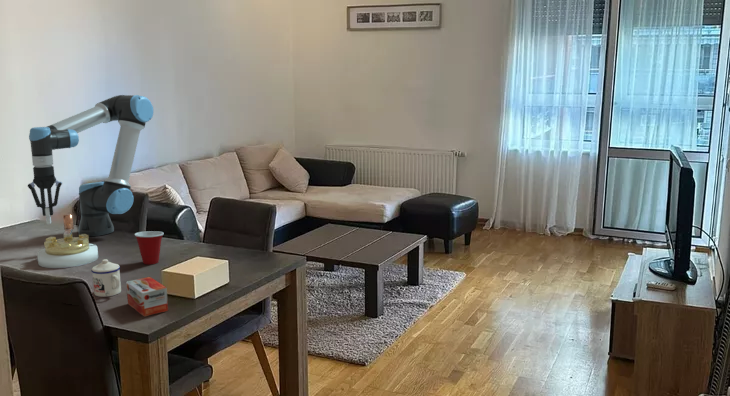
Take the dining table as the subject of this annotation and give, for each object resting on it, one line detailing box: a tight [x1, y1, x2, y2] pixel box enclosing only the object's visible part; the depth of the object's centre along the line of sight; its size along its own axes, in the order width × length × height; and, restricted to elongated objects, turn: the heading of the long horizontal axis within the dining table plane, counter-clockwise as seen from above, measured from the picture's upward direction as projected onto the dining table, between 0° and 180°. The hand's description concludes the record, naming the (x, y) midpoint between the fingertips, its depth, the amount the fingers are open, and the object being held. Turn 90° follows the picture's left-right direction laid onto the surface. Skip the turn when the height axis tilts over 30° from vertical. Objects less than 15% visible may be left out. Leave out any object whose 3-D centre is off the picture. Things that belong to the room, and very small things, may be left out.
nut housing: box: [37, 243, 99, 269], centre depth 277 cm, size 22×22×4 cm
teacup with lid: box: [90, 258, 122, 298], centre depth 236 cm, size 12×9×12 cm
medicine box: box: [126, 276, 169, 317], centre depth 223 cm, size 15×8×8 cm, turn 38°
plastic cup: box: [134, 230, 164, 265], centre depth 272 cm, size 11×11×12 cm
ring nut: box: [43, 213, 90, 255], centre depth 279 cm, size 23×16×11 cm
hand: (48, 223), depth 285 cm, fingers closed
